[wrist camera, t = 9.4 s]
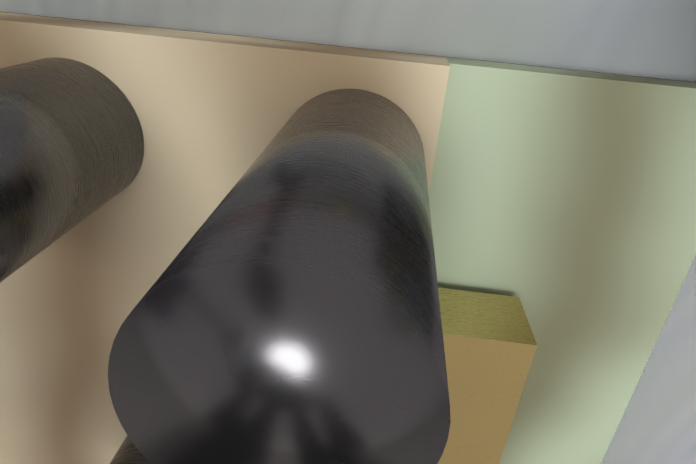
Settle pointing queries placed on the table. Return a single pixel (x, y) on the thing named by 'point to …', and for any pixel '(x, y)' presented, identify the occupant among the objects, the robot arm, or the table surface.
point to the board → (445, 208)
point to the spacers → (252, 279)
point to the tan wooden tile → (483, 371)
